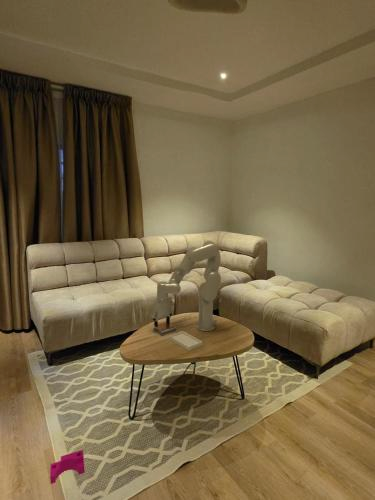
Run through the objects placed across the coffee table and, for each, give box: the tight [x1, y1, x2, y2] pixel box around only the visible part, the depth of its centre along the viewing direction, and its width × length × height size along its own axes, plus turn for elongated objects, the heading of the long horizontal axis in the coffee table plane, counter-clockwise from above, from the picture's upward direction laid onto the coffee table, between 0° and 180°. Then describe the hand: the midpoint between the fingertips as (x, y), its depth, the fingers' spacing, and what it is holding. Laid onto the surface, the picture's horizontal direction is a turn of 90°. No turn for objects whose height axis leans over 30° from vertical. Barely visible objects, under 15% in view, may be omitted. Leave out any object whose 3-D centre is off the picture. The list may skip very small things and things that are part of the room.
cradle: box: [168, 330, 204, 352], centre depth 184 cm, size 11×19×2 cm, turn 40°
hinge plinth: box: [153, 326, 177, 337], centre depth 199 cm, size 12×10×3 cm
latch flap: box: [154, 321, 176, 332], centre depth 199 cm, size 11×8×1 cm
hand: (162, 324), depth 200 cm, fingers open, 9 cm apart
